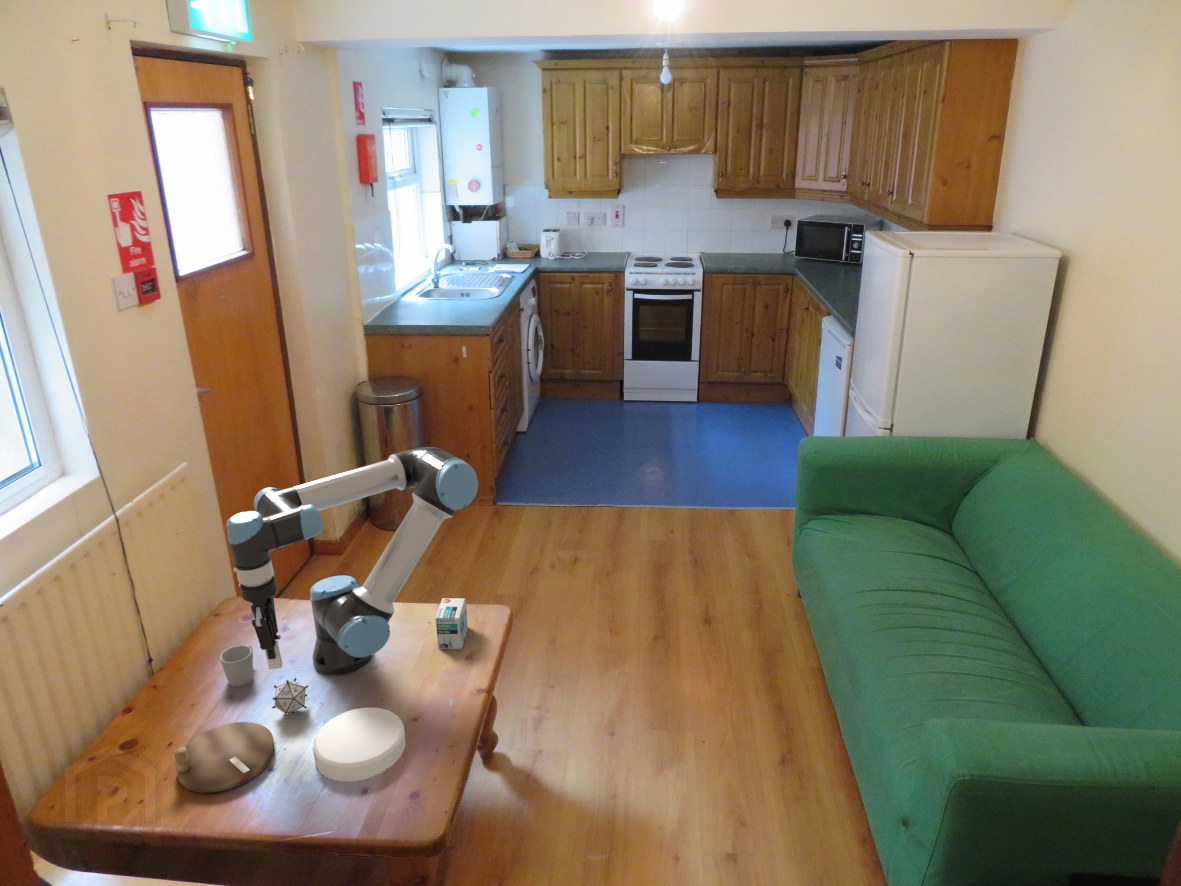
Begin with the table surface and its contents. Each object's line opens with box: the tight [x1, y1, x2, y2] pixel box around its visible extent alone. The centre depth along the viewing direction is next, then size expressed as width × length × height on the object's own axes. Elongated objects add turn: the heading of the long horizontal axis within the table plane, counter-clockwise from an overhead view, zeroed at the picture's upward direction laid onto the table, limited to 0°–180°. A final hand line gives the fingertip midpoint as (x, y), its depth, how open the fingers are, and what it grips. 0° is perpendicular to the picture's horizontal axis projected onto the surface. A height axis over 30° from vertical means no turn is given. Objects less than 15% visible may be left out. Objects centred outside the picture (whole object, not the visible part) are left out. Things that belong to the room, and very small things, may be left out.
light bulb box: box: [434, 597, 469, 650], centre depth 223 cm, size 11×7×11 cm, turn 179°
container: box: [312, 707, 406, 783], centre depth 184 cm, size 20×20×5 cm
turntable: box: [173, 721, 276, 794], centre depth 181 cm, size 20×20×7 cm
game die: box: [271, 677, 309, 718], centre depth 195 cm, size 9×8×10 cm
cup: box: [219, 644, 254, 688], centre depth 209 cm, size 8×10×8 cm
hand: (275, 666), depth 191 cm, fingers closed
